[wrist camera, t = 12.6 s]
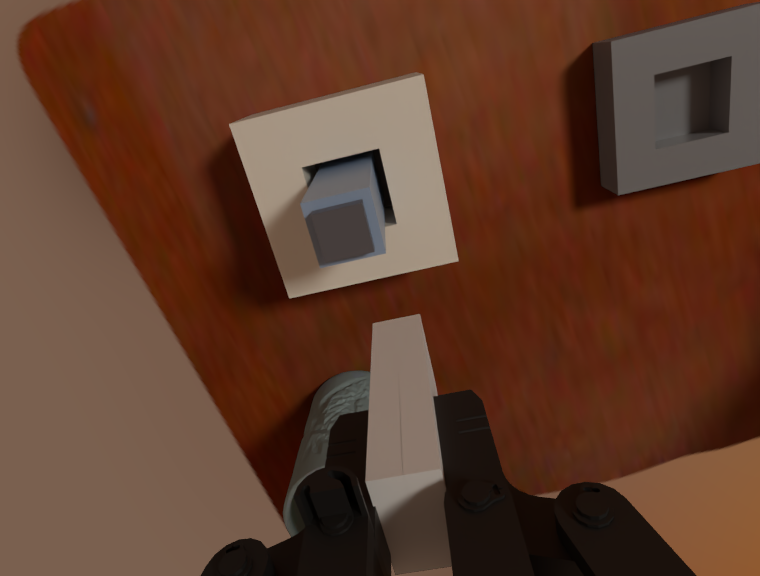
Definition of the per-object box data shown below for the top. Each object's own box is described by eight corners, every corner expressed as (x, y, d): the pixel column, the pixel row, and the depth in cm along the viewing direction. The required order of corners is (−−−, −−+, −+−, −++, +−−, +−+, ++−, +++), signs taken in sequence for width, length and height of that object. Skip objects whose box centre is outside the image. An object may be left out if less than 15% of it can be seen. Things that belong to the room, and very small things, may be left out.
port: (416, 72, 35) (423, 74, 30) (447, 233, 40) (458, 261, 34) (251, 114, 36) (229, 124, 31) (301, 266, 41) (289, 298, 35)
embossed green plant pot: (381, 346, 44) (382, 441, 33) (432, 428, 48) (449, 537, 37) (283, 393, 46) (253, 497, 35) (339, 468, 50) (329, 583, 39)
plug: (371, 149, 36) (369, 190, 24) (383, 197, 37) (386, 258, 26) (323, 160, 36) (297, 207, 25) (336, 208, 38) (318, 274, 26)
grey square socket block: (745, 4, 33) (778, -2, 31) (737, 154, 37) (766, 161, 35) (592, 43, 34) (611, 41, 32) (601, 185, 38) (618, 195, 36)
